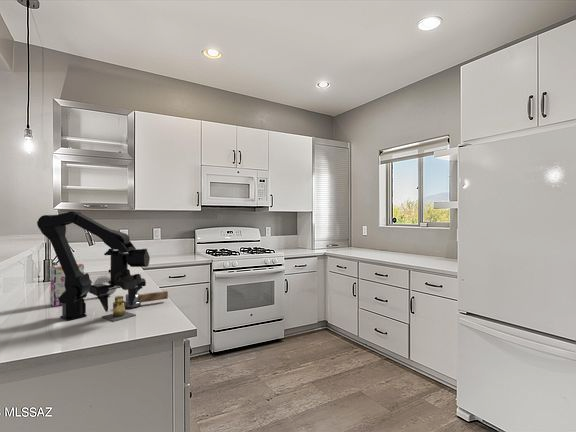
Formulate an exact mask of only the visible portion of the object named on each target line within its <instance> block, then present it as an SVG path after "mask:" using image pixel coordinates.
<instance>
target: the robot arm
mask: <svg viewBox="0 0 576 432" xmlns="http://www.w3.org/2000/svg"><path fill="white" fill-rule="evenodd" d="M36 224H37V225H36V226H37V227H38V230H39V231H40V232H41V234H42V235H44V236H45V237H46V238H47V239H48V240H49V241H50V243H51V245H52V249H53V250H54V253H55V256H56V258H57V260H58V262H59V265H61V267H62V270H63V272H64V274H65V283H64V286H65V290H66V291H65V292H64V293H63V294H62V295H61V296H60V297H59V298H58V299H59V302H60V304H62V306H61V307H62V308H61V313H62V315H60V316H59V318H61V319H63V320H65V321H71V320H76V319H80V318H85V317H87V311H86V310H87V307H86V306H87V304H86V303H87V302H85V298H87V297H88V294H92V295H94V296H96V297H97V298H98V300H99V302H100V304H101V305H102V307H103V309H104V311H105V312H106V313H107V312H109V294H108V293H107V292H108V291H109V290H112V289H116V290H117V289H122V291H127V294H128V298H129V305H130V306H132V304H133V301H134V299H135V296H136V294H137V293H139V291H140V290H142V289H143V287H146V286H147V281H146V279H145V278H143V277H142V276H141V274H140V273H135V274H131V271H130V269H129V268H128V267H131V268H147V267H149V265H150V260H151V259H150V258H151V257H150V254H149V252H148V248H140V249H138V248H137V247H136V246H134V244H133V243H132V241H131V239H130V235H128V234H127V233H124V232H123V231H119V230H115V229H111V228H108V227H107V226H105V225H103V224H101V223H100V222H98V221H95V220H94V219H92V218H90V217H89V216H86V215H85V214H83V213H82V212H81V211H77V210H76V211H74V210H72V211H71V210H70V211H68V212H64V213H60V214H44V215H41V216H40V217H39V218H38V221H36ZM71 224H74V225H76V226H77V227H79V228H81V229H82V230H83V229H84V230H85V231H87V232H89V233H90V234H92V235H94V236H96V237H98V238H99V239H101V241H102V242H103V243H104V244H105V245H107V247H109V248H108V250H106V252H105V253H104V254H103V255H104V256H110V269H108V273H110V274H109V275H110V281H109V283H108V284H105V283H103V284H95V285H94V284H93V281H92V280H91V278H90V274H89V273H88V272H86V273H84V274H83V273H82V272H81V271H80V270H79V268H78V265H77V264H78V263H77V260H76V258H75V257H74V254H73V252H72V249H71V246H70V244H69V242H68V239H67V236H66V234H67V232H66V231H67V225H71ZM109 284H110V285H109Z"/></svg>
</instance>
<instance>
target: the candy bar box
mask: <svg viewBox="0 0 576 432" xmlns="http://www.w3.org/2000/svg"><path fill="white" fill-rule="evenodd" d="M77 265H78V268H79V270H80V271H81V272H82V273H83V274H85V273H84V271H85V270H84V269H85V268H84V267H85V265H84V264H82V263H77ZM49 276H50V285H49V288H50V289H49V295H50V296H49V305H50V306H51V307H60V306H61V307H62V304H60V302H59V299H58V298H59V297H60V296H61V295H62V294H63V293H64V292H65V291H66V290H65V286H64V283H65V274H64V272H63V270H62V267H61V265H60V264H59V265H50V275H49Z"/></svg>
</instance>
